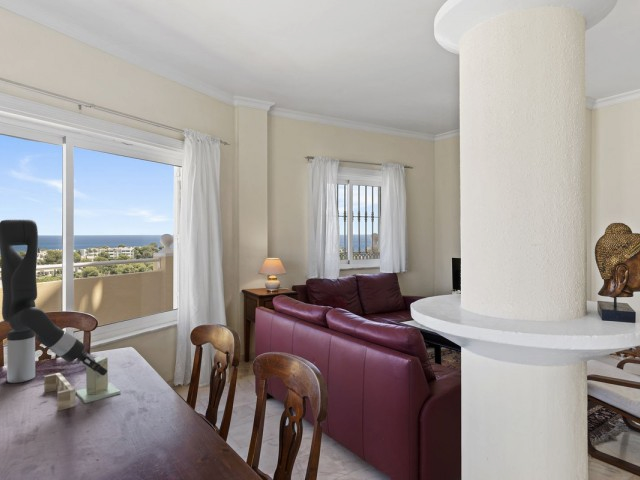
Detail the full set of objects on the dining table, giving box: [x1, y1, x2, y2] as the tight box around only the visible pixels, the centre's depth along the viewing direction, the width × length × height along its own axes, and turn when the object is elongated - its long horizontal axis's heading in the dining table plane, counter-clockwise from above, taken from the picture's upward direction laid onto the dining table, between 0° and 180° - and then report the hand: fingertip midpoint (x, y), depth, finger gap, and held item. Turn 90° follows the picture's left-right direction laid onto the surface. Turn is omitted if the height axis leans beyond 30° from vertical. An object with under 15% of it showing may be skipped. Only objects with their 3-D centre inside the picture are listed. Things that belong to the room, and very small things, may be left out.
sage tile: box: [75, 381, 121, 404], centre depth 148 cm, size 12×12×1 cm
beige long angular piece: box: [43, 372, 76, 412], centre depth 143 cm, size 22×5×6 cm, turn 45°
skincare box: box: [85, 356, 109, 394], centre depth 147 cm, size 6×4×12 cm
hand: (102, 370), depth 149 cm, fingers open, 7 cm apart
